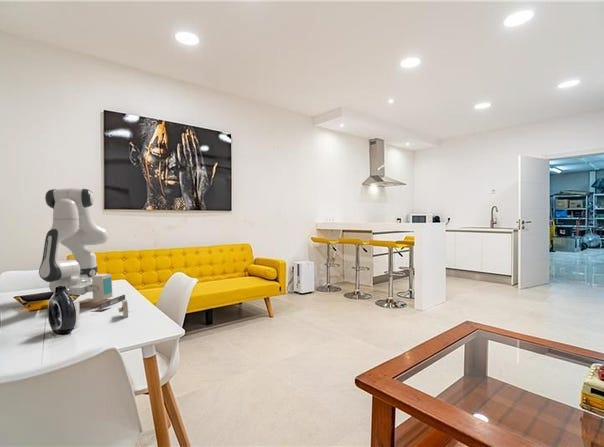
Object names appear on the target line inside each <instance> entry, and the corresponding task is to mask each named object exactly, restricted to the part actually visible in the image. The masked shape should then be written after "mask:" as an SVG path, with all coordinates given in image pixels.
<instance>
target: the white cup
mask: <svg viewBox="0 0 604 447" xmlns="http://www.w3.org/2000/svg"><path fill="white" fill-rule="evenodd" d="M72 302H73V303H74V306H75V309H76V324H75V328H74V329H73V330H75V329H77V328H79V326H80V308H79V301H72Z"/></svg>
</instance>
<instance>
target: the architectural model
mask: <svg viewBox="0 0 604 447" xmlns="http://www.w3.org/2000/svg"><path fill="white" fill-rule="evenodd" d="M121 302H122V305H121V307H118V313H122V314H123V315H122V316H123V319H126V318H129V310H128V309H129V307H128V300H127V299H125V300H123V301H121Z"/></svg>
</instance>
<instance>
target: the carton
mask: <svg viewBox="0 0 604 447" xmlns="http://www.w3.org/2000/svg"><path fill="white" fill-rule="evenodd" d="M95 286H98V287H99V290H96V291H92V299H93V300H105V299H111V298H113V280H112V273H98V275H94V276H92V287H95Z"/></svg>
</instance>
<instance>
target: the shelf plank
mask: <svg viewBox="0 0 604 447" xmlns="http://www.w3.org/2000/svg"><path fill="white" fill-rule="evenodd" d="M122 301H126V294H122V295H119V296H117V297H114V298H107V299H105V300H93V297H92V298H91V297H89V298H86V299H83V300H80V301H78V302H79V309H84V310H85V309H88V310H91V309H92V310H91V311H89V312H91V313H92V312H93V313H102V312H105V311H107V310H111V307H110V306H113V305H115V304H118V303H120V302H122Z"/></svg>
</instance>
